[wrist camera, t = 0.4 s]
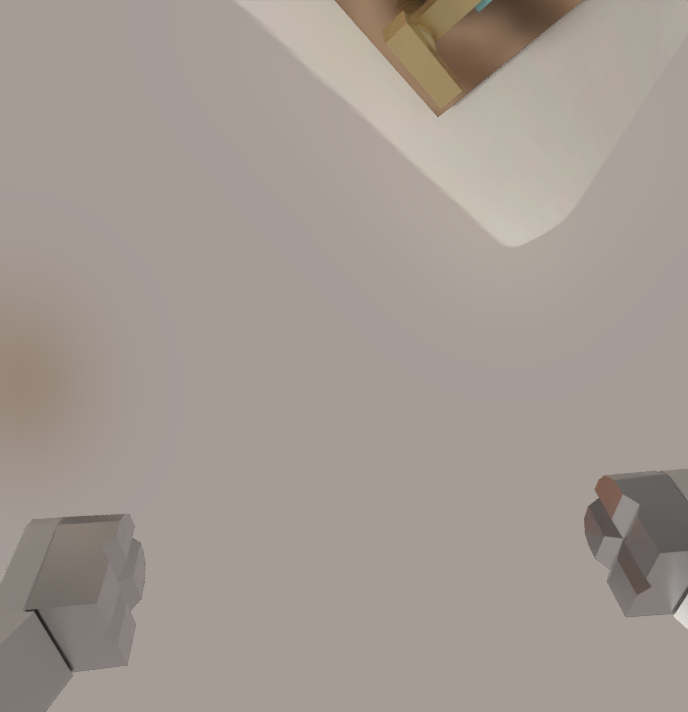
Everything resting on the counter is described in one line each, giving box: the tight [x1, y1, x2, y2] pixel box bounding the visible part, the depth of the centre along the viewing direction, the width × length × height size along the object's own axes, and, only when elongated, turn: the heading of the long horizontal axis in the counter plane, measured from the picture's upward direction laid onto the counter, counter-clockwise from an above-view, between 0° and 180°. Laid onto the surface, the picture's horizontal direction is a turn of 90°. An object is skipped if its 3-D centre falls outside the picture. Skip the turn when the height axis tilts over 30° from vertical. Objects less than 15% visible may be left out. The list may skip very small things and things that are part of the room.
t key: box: [382, 0, 482, 108], centre depth 43 cm, size 8×7×10 cm
